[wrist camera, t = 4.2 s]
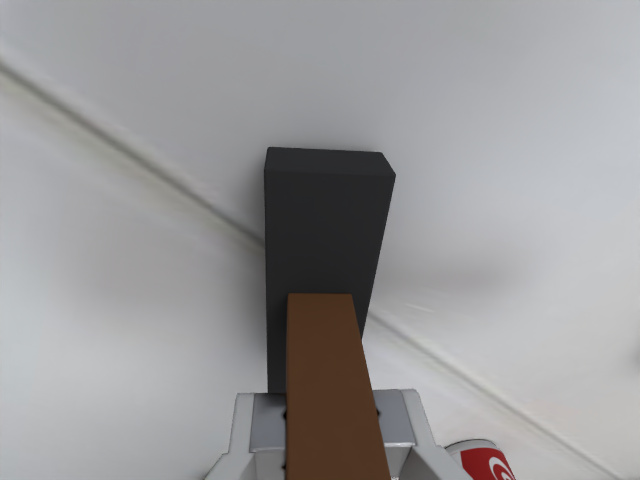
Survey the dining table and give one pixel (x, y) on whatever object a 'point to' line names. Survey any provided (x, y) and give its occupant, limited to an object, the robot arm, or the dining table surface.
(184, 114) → the dining table surface
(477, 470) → the soda can
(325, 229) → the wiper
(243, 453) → the robot arm
